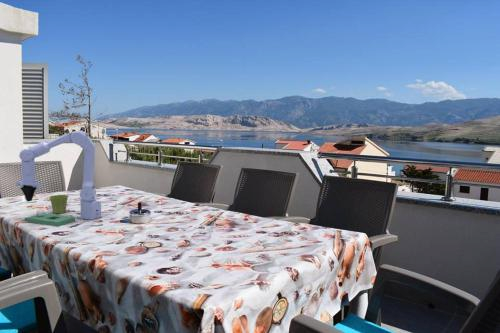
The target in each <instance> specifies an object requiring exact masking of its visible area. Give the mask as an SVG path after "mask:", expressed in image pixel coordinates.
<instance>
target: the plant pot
mask: <svg viewBox="0 0 500 333" xmlns="http://www.w3.org/2000/svg"><path fill="white" fill-rule="evenodd" d="M48 198H49V201H50V203H51V204H50V205H51V209H52V214H64V213H65V212H66V211H67V204H68V203H67V202H68V199H69V195H68V194H56V195H50V196H48Z"/></svg>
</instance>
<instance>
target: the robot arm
mask: <svg viewBox="0 0 500 333" xmlns="http://www.w3.org/2000/svg"><path fill="white" fill-rule="evenodd" d="M64 143H73V144H75V145H77V146H79V147H80V148H82V149H83V151H84V154H83V157H84V158H83V176H82V177H83V178H82V185H81V190H80V192H79V197H80V215H78V216H76V218H77V219H83V220H84V219H85V220H96V219H99V218H102V217H103V215H102V204H101V202H100V201H99V200H97V199H96V196H95V195H96V193H97V190H96V188H95V182H94V178H95V177H94V176H95V159H96V157H95V156H96V155H95V153H96V146H95V144H94V142H93V141H92V139H91V138H90V135H89V134H87V133H86V132H85V131H84V130H75V131H73V132H68V133H66V134H63V135H60V136H59V137H57V138H54V139H52V140H50V141H49V142H47V141H38V142H37V144H34V145H32V146H28V147H27V148H25V149H22V150H21V151H20V152H19V155H18V156H19V158H20V160H21V161H20V162H21V180H19V181H15V185H16V186H20V190H21V192H22V193H23V195H24V197H25V201H26V202H33V197H34V194H35V192H36V191H37V189H40V188H42V186H43V183H42V182H37V181H36V169H35V168H36V167H35V166H36V165H35V159H36V158H39V157H41V156H43V155H46V154H48V153H50V152H51V149H53V148H54V147H57V146H59V145H62V144H64Z"/></svg>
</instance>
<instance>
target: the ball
mask: <svg viewBox="0 0 500 333" xmlns="http://www.w3.org/2000/svg"><path fill="white" fill-rule="evenodd" d="M44 213H45V210H44V209H42V208H39V209H38V210H36V215H38V216H43V215H44Z"/></svg>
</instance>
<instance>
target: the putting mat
mask: <svg viewBox="0 0 500 333" xmlns="http://www.w3.org/2000/svg"><path fill="white" fill-rule="evenodd" d="M25 221H27V222H26V223H29V222H33V223H32V224H36V223H40V224H39V225H44V224H45V225H44V226H52V227H60V226H64V225H67V224H70V223H74V222H76V216H70V215H63V214H62V215H61V214H56V213H44V215H43V216H38V215H37V214H35V215H30V216H27V217H24V222H25Z"/></svg>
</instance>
